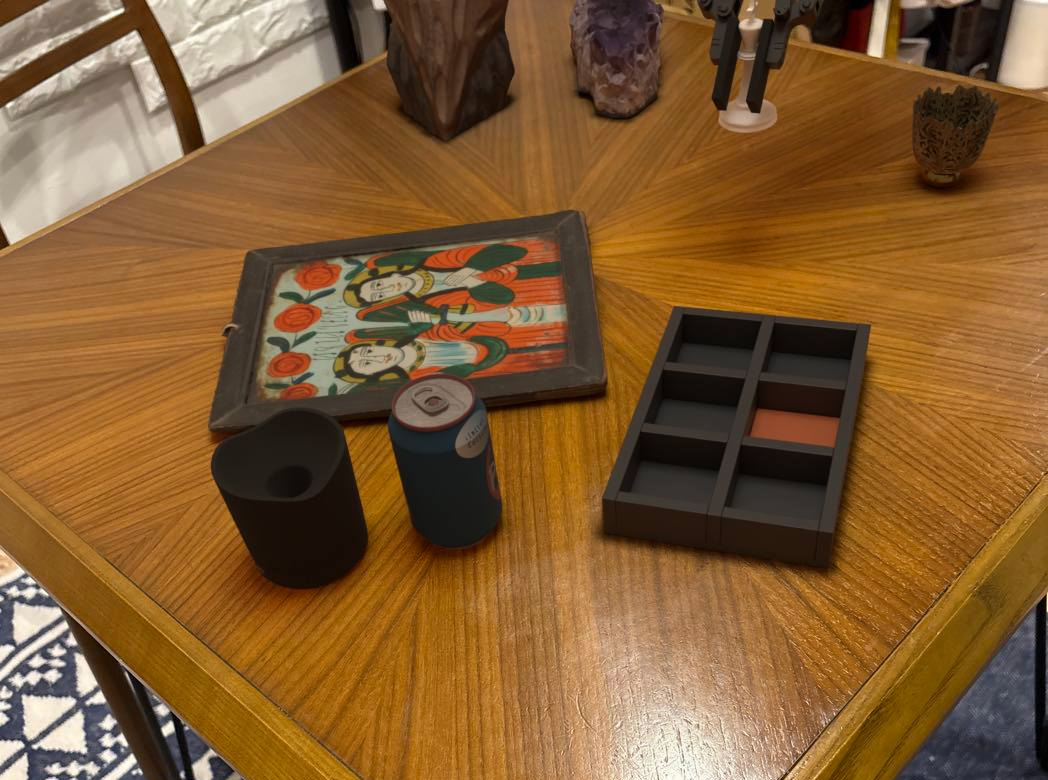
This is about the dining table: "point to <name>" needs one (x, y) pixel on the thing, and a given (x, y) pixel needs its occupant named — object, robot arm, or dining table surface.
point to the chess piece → (738, 110)
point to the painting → (413, 320)
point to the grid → (741, 435)
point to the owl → (449, 61)
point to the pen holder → (294, 497)
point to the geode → (617, 53)
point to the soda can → (445, 460)
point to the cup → (950, 132)
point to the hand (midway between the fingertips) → (735, 105)
